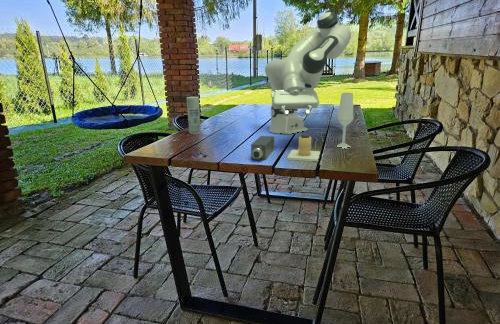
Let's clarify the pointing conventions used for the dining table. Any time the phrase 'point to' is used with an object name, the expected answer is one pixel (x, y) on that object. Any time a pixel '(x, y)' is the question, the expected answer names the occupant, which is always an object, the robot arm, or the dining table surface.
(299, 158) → the far side pad
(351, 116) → the champagne flute
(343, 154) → the dining table surface
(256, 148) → the motor housing
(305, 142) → the yellow cylinder
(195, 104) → the spray can
